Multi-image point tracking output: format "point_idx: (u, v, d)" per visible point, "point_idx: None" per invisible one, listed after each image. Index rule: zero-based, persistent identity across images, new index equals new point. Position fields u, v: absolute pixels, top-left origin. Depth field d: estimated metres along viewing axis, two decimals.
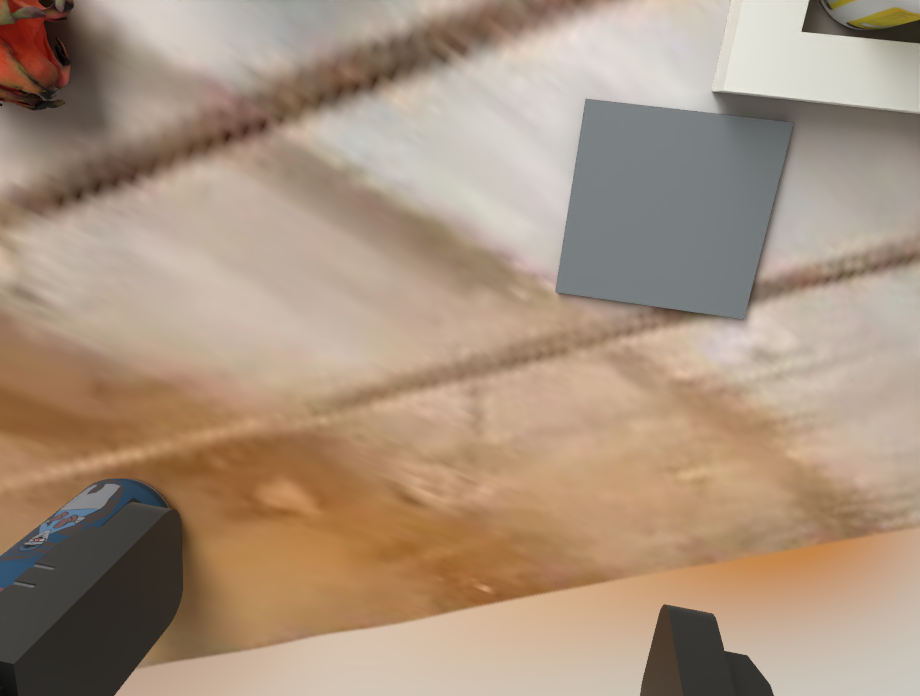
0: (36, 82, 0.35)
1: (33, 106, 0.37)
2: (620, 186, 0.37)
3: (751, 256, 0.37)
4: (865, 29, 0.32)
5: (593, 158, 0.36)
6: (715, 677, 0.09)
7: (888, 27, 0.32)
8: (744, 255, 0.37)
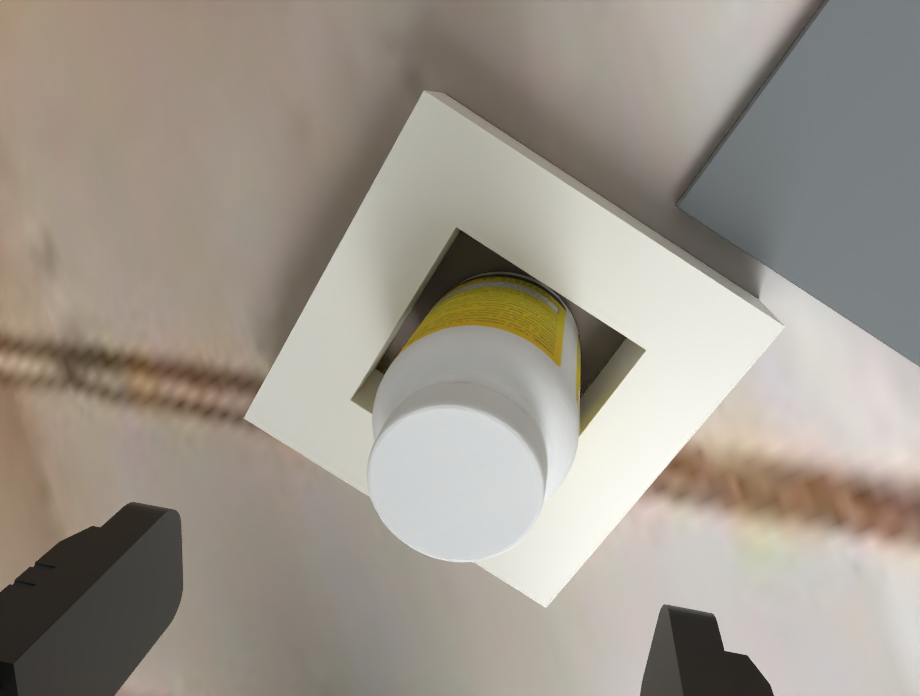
0: None
1: None
2: None
3: (842, 7, 0.19)
4: (545, 289, 0.23)
5: None
6: (715, 677, 0.09)
7: (524, 284, 0.22)
8: (852, 16, 0.19)
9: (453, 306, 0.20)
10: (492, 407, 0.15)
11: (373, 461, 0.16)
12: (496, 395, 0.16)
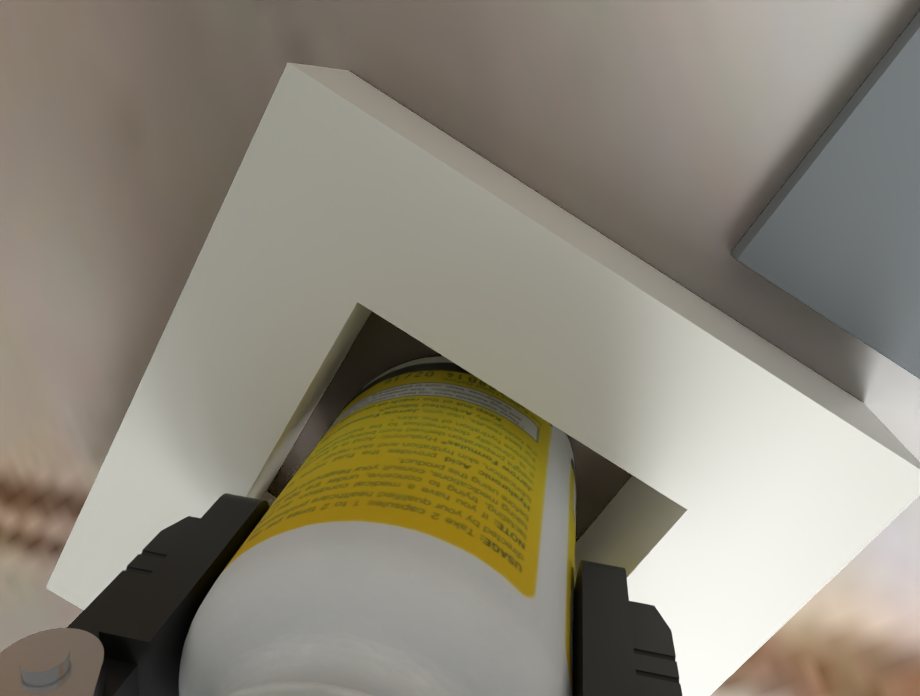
0: None
1: None
2: None
3: None
4: None
5: None
6: (615, 620, 0.10)
7: (482, 387, 0.13)
8: None
9: (349, 446, 0.11)
10: None
11: None
12: None
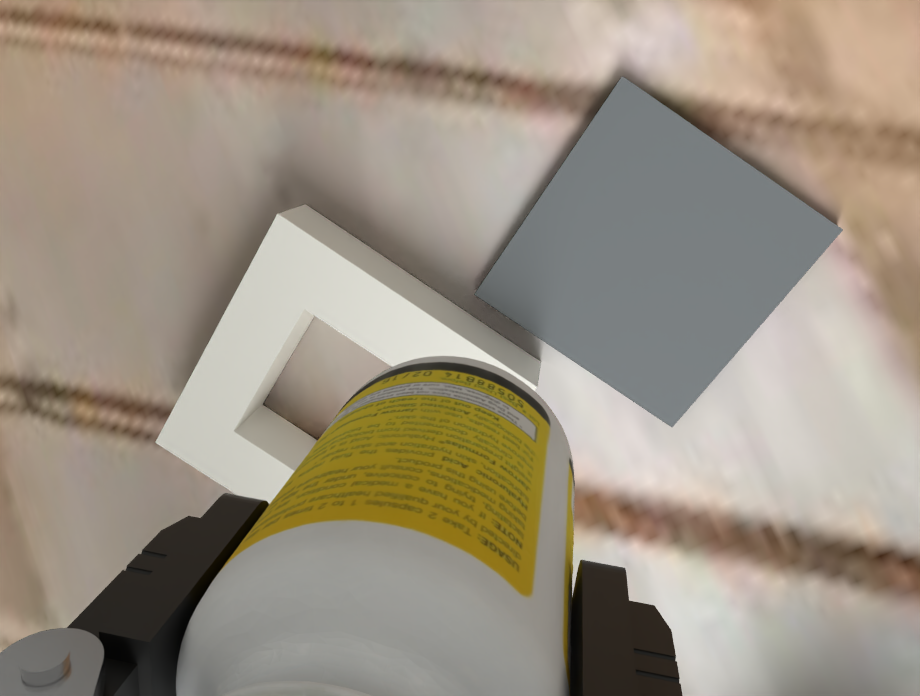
0: None
1: None
2: (686, 320, 0.28)
3: (577, 160, 0.27)
4: (516, 387, 0.14)
5: (698, 365, 0.29)
6: (615, 620, 0.10)
7: (480, 386, 0.13)
8: (585, 167, 0.27)
9: (347, 446, 0.11)
10: None
11: None
12: None
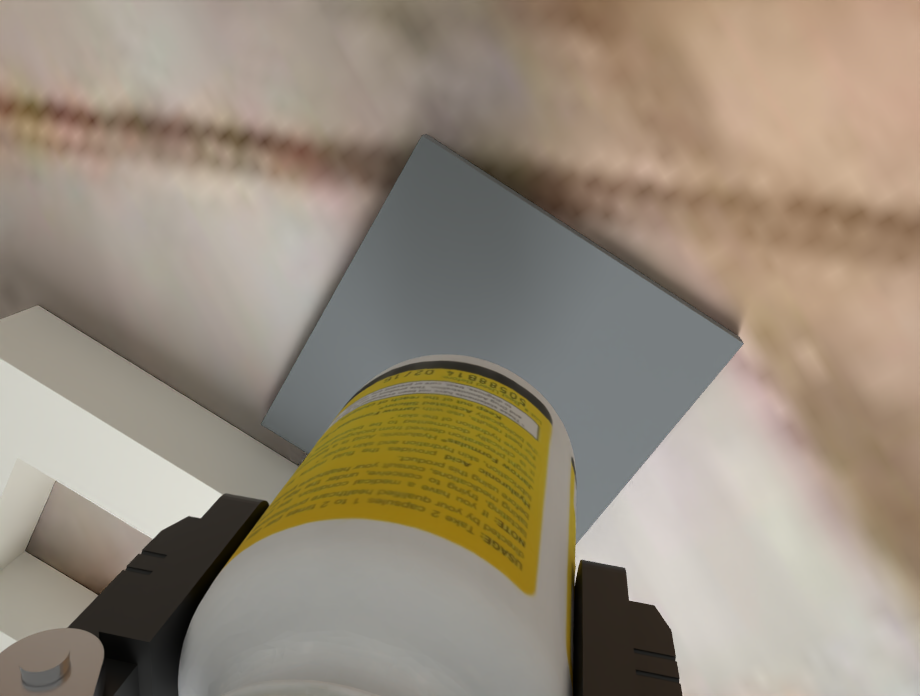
0: None
1: None
2: None
3: (374, 251, 0.20)
4: (518, 386, 0.14)
5: None
6: (615, 620, 0.10)
7: (482, 385, 0.13)
8: (385, 259, 0.20)
9: (349, 444, 0.11)
10: None
11: None
12: None
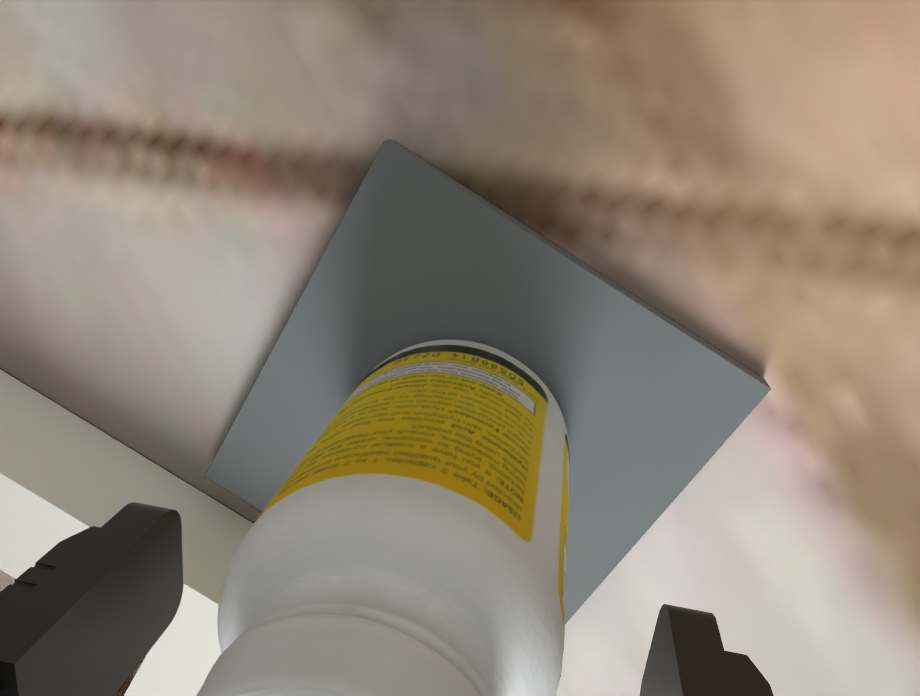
0: None
1: None
2: None
3: (330, 278, 0.16)
4: (516, 368, 0.15)
5: None
6: (715, 676, 0.09)
7: (484, 366, 0.15)
8: (343, 287, 0.16)
9: (365, 415, 0.13)
10: (390, 685, 0.08)
11: None
12: (404, 644, 0.08)
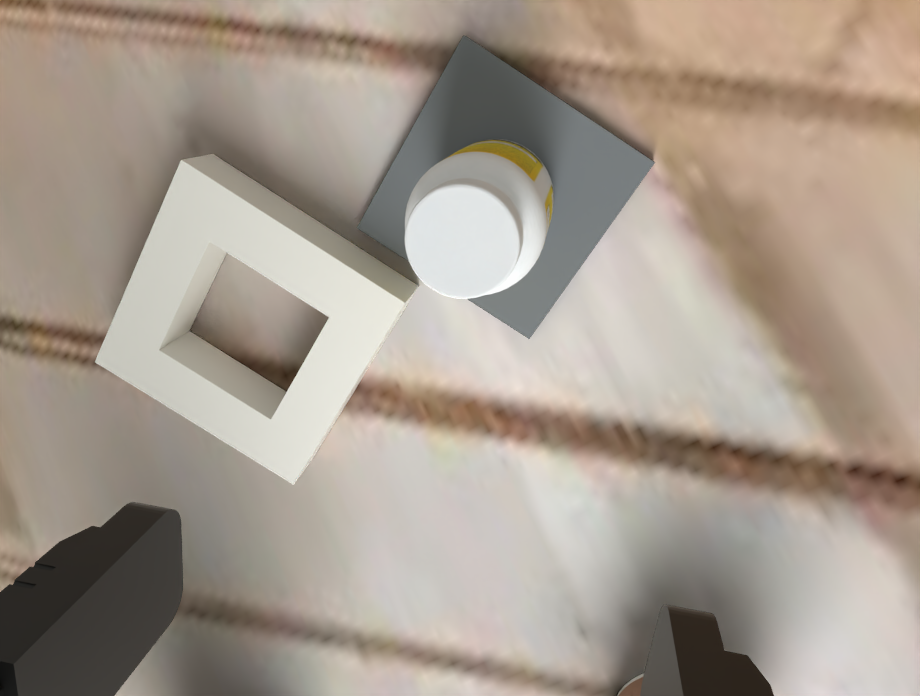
0: None
1: None
2: None
3: (432, 109, 0.32)
4: (527, 150, 0.31)
5: (546, 283, 0.34)
6: (715, 677, 0.09)
7: (512, 144, 0.30)
8: (439, 114, 0.32)
9: (460, 150, 0.28)
10: (486, 188, 0.24)
11: (409, 227, 0.24)
12: (489, 185, 0.24)
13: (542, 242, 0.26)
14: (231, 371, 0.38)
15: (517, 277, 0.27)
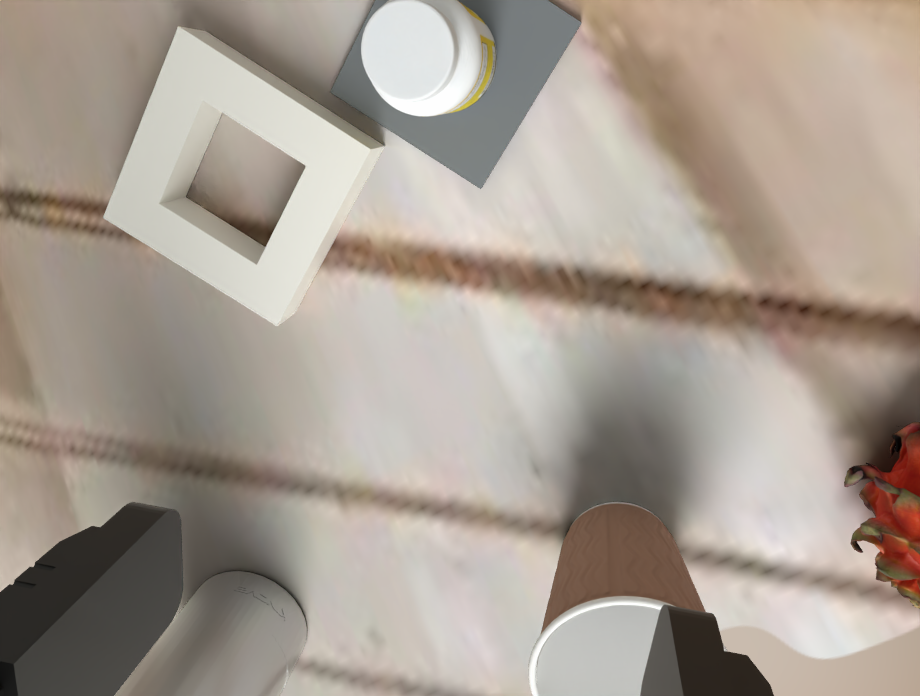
0: None
1: None
2: (481, 101, 0.39)
3: None
4: None
5: (493, 136, 0.39)
6: (715, 677, 0.09)
7: None
8: None
9: None
10: (426, 2, 0.29)
11: (364, 38, 0.30)
12: (429, 4, 0.30)
13: (477, 64, 0.32)
14: (222, 228, 0.43)
15: (457, 95, 0.32)
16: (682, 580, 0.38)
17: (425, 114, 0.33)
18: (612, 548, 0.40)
